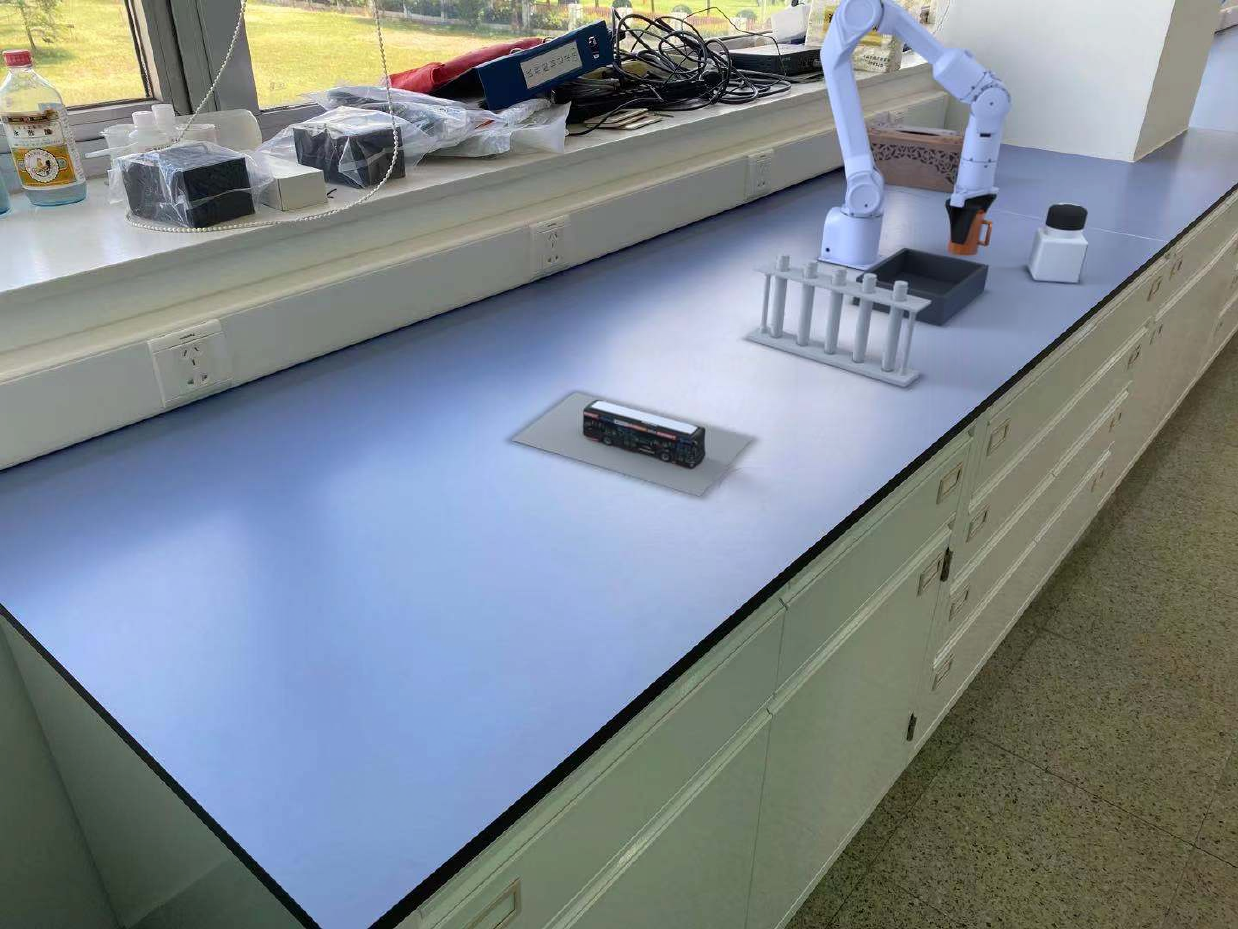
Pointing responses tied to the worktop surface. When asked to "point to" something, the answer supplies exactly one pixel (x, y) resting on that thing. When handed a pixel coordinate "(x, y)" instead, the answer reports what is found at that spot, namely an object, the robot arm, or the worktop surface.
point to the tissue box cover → (916, 154)
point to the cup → (972, 237)
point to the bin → (930, 282)
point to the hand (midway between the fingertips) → (963, 239)
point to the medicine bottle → (1060, 245)
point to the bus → (635, 442)
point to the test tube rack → (838, 319)
